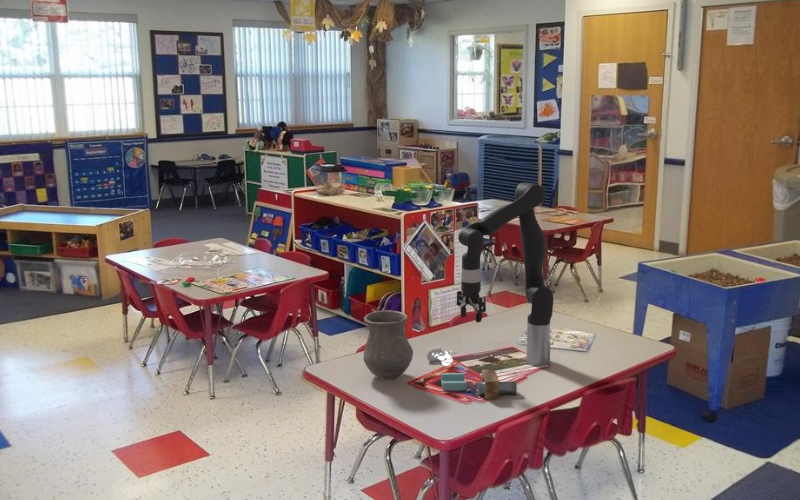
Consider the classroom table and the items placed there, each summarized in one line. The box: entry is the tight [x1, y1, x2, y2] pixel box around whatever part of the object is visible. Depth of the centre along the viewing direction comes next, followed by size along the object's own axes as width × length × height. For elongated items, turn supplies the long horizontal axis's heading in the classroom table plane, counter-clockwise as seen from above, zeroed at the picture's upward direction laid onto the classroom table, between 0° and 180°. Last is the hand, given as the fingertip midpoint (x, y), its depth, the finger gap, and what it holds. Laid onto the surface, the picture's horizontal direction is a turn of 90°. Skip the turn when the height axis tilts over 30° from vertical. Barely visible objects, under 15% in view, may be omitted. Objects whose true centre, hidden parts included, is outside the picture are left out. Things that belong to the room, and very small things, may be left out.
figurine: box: [426, 348, 457, 367], centre depth 321 cm, size 9×6×12 cm
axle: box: [477, 381, 518, 396], centre depth 289 cm, size 14×5×5 cm, turn 91°
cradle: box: [440, 372, 468, 391], centre depth 298 cm, size 9×10×3 cm
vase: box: [363, 309, 414, 381], centre depth 305 cm, size 20×19×25 cm
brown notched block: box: [481, 369, 500, 401], centre depth 290 cm, size 5×12×7 cm, turn 1°
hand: (470, 319), depth 303 cm, fingers open, 8 cm apart
